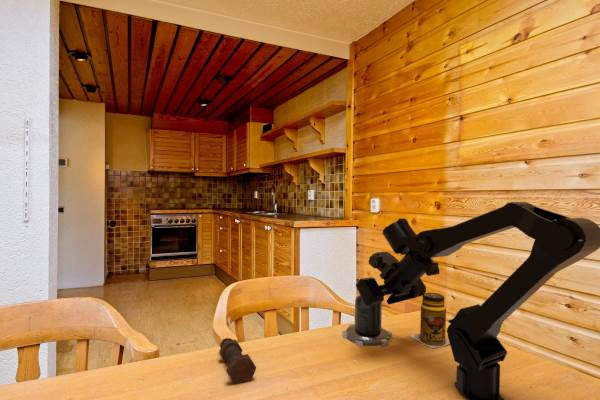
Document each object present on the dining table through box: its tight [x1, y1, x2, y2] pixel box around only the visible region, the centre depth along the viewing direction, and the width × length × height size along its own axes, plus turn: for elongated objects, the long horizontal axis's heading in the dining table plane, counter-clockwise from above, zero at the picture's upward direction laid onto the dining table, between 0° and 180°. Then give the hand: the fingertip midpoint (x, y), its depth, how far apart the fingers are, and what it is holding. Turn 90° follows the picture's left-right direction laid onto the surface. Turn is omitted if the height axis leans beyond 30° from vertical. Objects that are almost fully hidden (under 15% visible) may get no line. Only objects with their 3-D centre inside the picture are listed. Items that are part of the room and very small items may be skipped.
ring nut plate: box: [342, 323, 393, 347], centre depth 94 cm, size 13×12×1 cm
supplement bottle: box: [354, 292, 383, 337], centre depth 94 cm, size 7×7×12 cm
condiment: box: [408, 292, 450, 349], centre depth 92 cm, size 7×8×12 cm
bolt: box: [219, 337, 257, 385], centre depth 77 cm, size 6×5×15 cm
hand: (374, 305), depth 91 cm, fingers open, 9 cm apart
